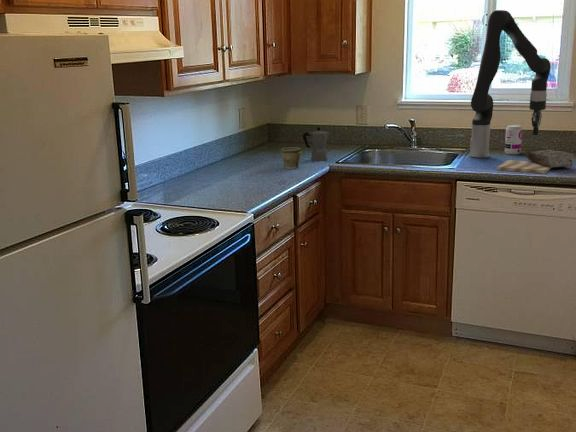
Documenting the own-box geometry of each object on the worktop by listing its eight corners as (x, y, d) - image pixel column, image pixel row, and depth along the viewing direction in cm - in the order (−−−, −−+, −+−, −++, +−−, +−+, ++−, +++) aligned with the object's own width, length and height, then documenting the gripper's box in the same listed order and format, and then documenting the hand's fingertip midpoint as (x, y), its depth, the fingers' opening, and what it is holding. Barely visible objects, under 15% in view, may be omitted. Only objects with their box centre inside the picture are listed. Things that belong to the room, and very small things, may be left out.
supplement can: (521, 152, 346) (523, 125, 342) (518, 155, 339) (520, 127, 335) (506, 151, 350) (508, 124, 346) (503, 154, 343) (504, 126, 339)
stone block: (549, 145, 316) (574, 152, 297) (549, 159, 318) (574, 166, 299) (525, 150, 314) (548, 156, 295) (525, 163, 316) (549, 171, 297)
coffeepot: (329, 158, 348) (328, 125, 343) (333, 161, 339) (332, 127, 334) (301, 159, 345) (301, 127, 341) (305, 162, 336) (304, 129, 332)
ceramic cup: (277, 169, 322) (277, 149, 320) (288, 165, 330) (288, 146, 328) (299, 171, 315) (298, 151, 313) (309, 167, 323) (309, 148, 320)
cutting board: (497, 169, 303) (497, 166, 303) (507, 162, 319) (508, 159, 319) (545, 173, 292) (545, 170, 291) (553, 166, 308) (554, 163, 307)
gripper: (533, 98, 317) (530, 132, 322) (527, 100, 307) (524, 136, 311) (548, 98, 313) (546, 133, 318) (543, 101, 303) (540, 137, 307)
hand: (535, 134), depth 315 cm, fingers closed
